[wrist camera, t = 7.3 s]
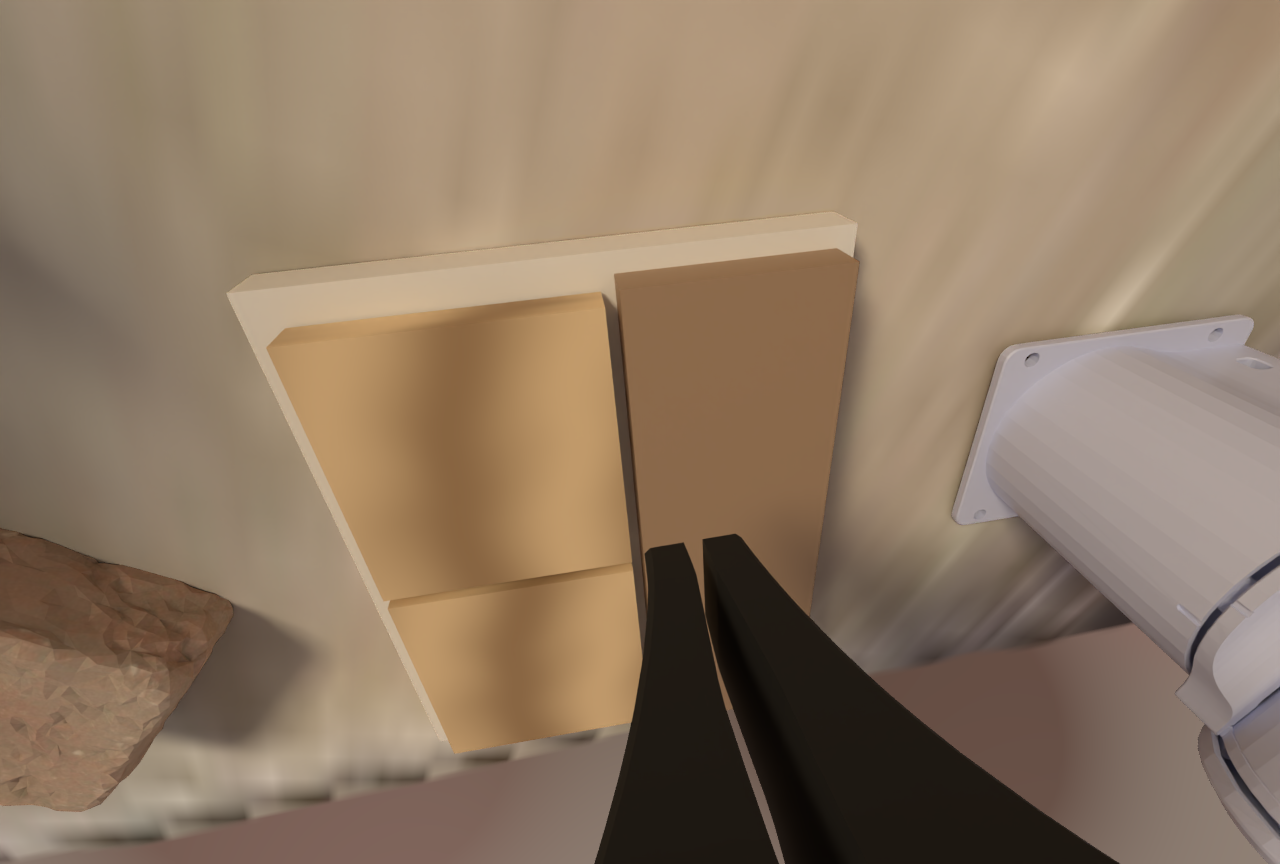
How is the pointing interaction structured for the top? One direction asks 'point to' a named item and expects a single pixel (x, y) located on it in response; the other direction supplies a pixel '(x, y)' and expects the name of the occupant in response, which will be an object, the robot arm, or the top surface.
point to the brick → (89, 668)
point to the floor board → (649, 372)
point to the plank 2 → (526, 655)
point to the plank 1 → (466, 440)
